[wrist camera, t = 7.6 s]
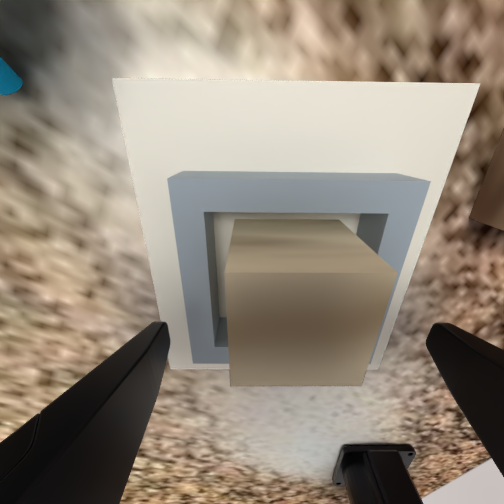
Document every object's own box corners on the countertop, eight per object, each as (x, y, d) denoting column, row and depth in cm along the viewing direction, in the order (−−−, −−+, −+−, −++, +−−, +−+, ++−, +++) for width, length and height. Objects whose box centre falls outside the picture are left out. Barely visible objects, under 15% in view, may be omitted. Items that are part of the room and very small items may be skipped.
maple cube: (324, 303, 13) (361, 386, 9) (236, 303, 13) (230, 386, 9) (339, 219, 11) (397, 272, 7) (234, 218, 11) (224, 272, 7)
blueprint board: (372, 360, 17) (396, 402, 14) (173, 359, 17) (158, 402, 14) (463, 87, 10) (545, 68, 7) (122, 82, 10) (71, 59, 7)
